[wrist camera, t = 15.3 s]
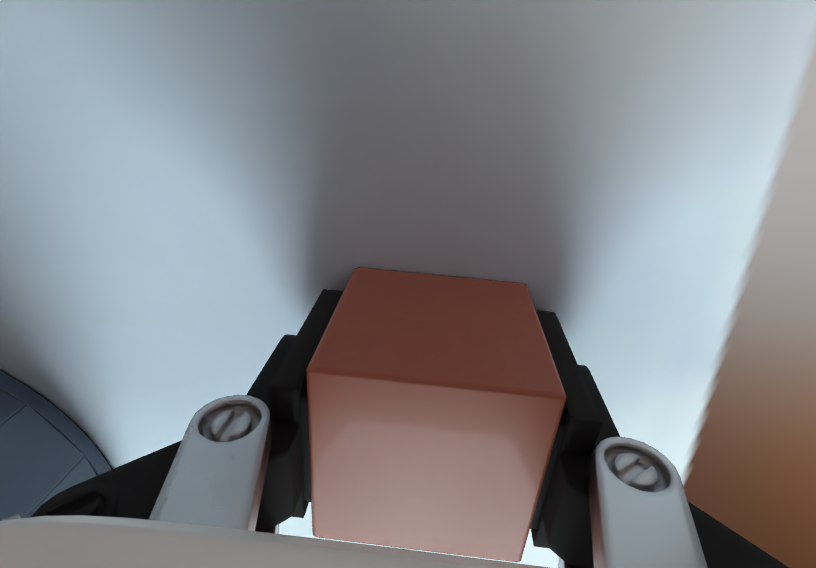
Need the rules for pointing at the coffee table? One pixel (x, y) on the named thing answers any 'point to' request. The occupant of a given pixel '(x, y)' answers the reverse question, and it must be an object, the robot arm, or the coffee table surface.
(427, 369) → the block
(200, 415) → the robot arm
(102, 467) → the crock
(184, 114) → the coffee table surface
